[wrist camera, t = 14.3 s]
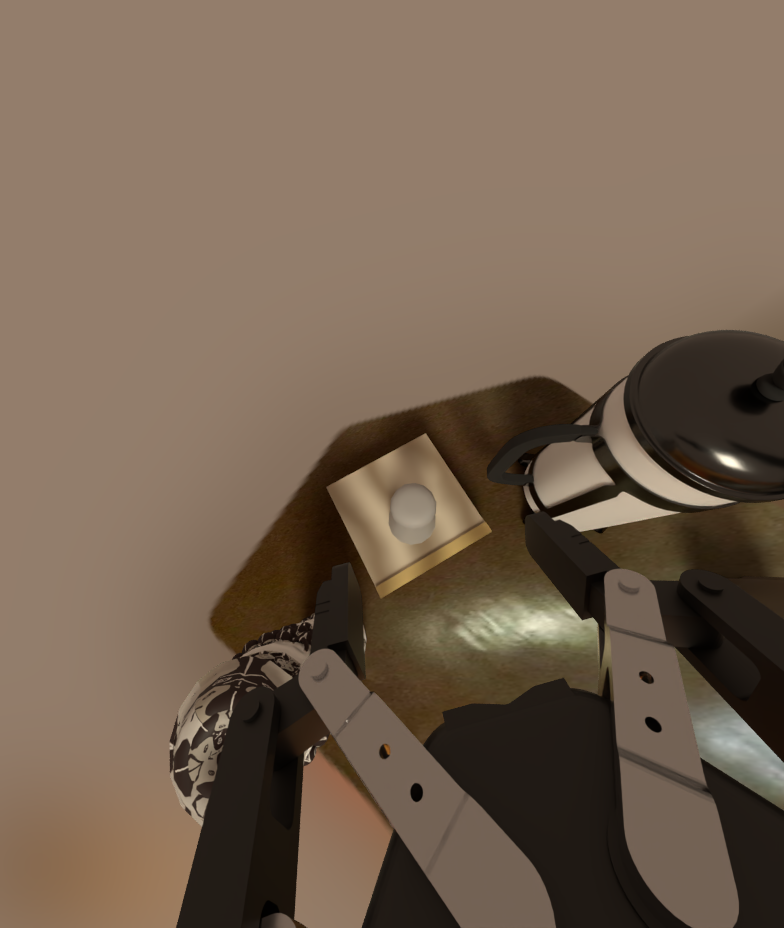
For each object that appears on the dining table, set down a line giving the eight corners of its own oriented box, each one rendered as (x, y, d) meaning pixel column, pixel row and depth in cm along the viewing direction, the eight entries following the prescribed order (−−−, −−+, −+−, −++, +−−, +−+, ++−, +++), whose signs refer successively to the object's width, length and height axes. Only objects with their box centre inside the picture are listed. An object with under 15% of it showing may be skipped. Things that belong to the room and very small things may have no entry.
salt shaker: (380, 523, 39) (367, 504, 27) (409, 492, 40) (409, 460, 28) (414, 555, 37) (416, 551, 25) (443, 521, 38) (459, 501, 26)
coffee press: (551, 423, 47) (761, 213, 19) (634, 501, 43) (1075, 377, 14) (469, 487, 45) (571, 354, 16) (548, 578, 40) (880, 609, 12)
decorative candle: (286, 643, 39) (101, 761, 16) (335, 587, 41) (235, 617, 18) (333, 700, 37) (201, 937, 13) (383, 637, 39) (343, 749, 15)
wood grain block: (424, 446, 47) (425, 432, 42) (482, 535, 42) (491, 531, 37) (334, 495, 46) (325, 486, 40) (384, 594, 41) (380, 598, 36)
